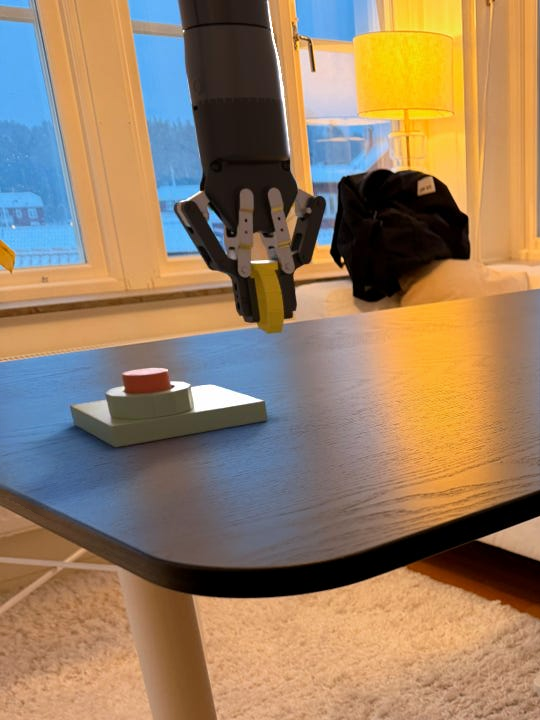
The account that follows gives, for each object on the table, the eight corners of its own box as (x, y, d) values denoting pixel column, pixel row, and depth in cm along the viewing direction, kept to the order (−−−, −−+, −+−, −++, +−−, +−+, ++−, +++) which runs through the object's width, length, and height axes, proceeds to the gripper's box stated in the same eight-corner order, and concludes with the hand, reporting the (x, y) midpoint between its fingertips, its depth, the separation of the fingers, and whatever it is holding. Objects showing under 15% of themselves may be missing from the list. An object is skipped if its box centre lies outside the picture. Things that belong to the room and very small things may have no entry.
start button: (134, 399, 70) (129, 377, 70) (120, 393, 73) (115, 372, 72) (178, 393, 72) (174, 371, 72) (163, 387, 75) (159, 366, 74)
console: (115, 447, 69) (105, 402, 68) (73, 424, 78) (64, 384, 76) (268, 420, 76) (262, 379, 74) (214, 402, 85) (207, 364, 83)
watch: (247, 330, 83) (237, 261, 80) (276, 327, 84) (267, 259, 81) (263, 336, 78) (253, 263, 75) (294, 333, 79) (285, 261, 76)
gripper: (293, 105, 79) (317, 310, 87) (138, 101, 72) (178, 325, 79) (334, 95, 74) (355, 315, 81) (170, 90, 66) (211, 332, 74)
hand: (268, 319), depth 80 cm, fingers closed on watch, 2 cm apart
